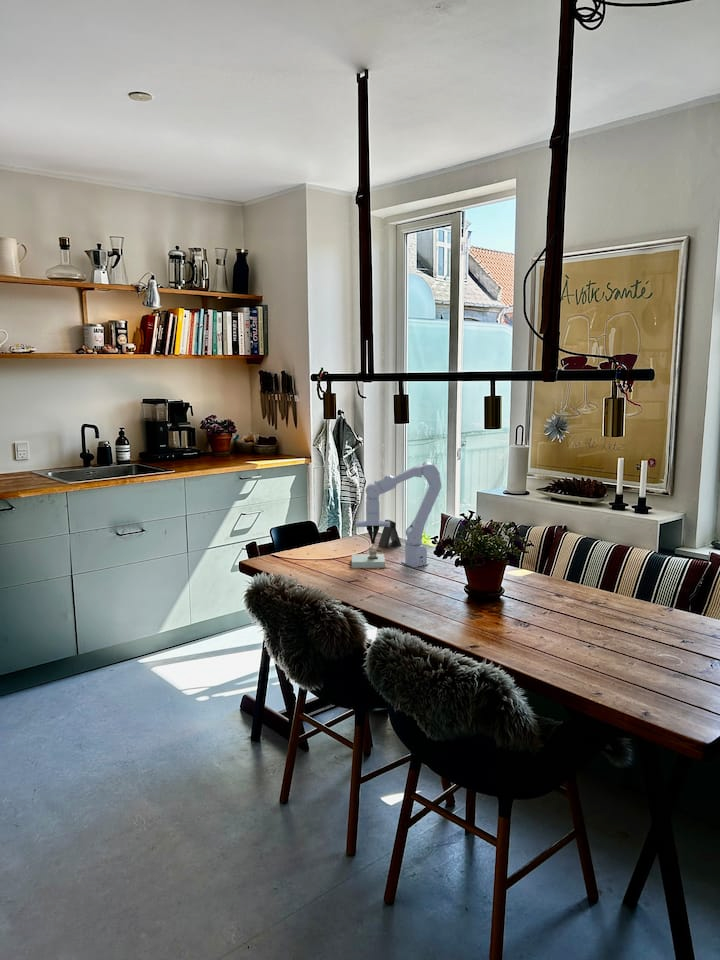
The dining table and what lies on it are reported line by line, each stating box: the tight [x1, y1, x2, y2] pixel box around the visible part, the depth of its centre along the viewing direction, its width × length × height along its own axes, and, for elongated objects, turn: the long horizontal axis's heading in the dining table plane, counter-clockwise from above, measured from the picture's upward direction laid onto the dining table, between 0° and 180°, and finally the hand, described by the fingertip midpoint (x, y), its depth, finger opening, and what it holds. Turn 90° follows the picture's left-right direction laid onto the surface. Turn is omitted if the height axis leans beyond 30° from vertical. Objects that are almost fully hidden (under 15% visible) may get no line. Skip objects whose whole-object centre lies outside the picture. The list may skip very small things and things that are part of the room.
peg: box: [368, 546, 378, 559], centre depth 300 cm, size 3×3×7 cm
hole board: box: [351, 553, 386, 569], centre depth 300 cm, size 14×12×2 cm
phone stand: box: [378, 519, 402, 549], centre depth 329 cm, size 9×6×12 cm, turn 116°
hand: (372, 543), depth 299 cm, fingers closed
